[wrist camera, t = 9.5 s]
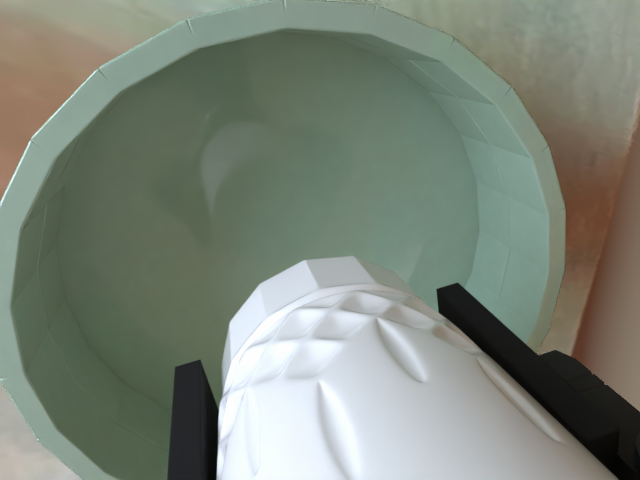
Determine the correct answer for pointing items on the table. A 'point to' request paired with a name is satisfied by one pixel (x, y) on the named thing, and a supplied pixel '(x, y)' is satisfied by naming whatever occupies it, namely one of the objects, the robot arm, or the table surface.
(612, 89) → the table surface
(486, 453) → the white cup
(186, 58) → the bowl
